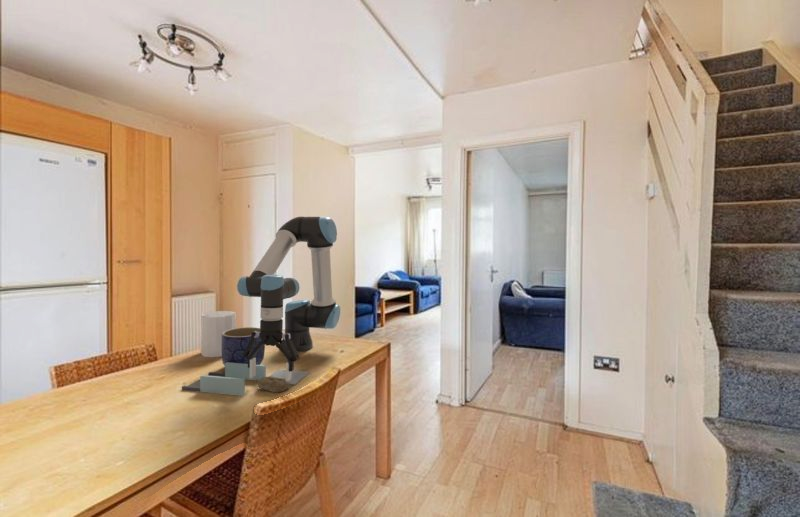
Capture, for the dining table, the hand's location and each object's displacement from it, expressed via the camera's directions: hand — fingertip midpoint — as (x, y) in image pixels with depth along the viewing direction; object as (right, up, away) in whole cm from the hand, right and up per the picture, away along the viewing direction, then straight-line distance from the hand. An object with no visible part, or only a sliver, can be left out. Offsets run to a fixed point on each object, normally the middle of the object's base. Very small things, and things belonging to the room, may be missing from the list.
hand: (270, 378), depth 131 cm
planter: (-19, -3, +21) cm, 29 cm away
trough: (-17, -3, +3) cm, 18 cm away
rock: (+1, -4, +1) cm, 5 cm away
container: (-38, -1, +40) cm, 56 cm away
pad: (+2, -3, +11) cm, 12 cm away
